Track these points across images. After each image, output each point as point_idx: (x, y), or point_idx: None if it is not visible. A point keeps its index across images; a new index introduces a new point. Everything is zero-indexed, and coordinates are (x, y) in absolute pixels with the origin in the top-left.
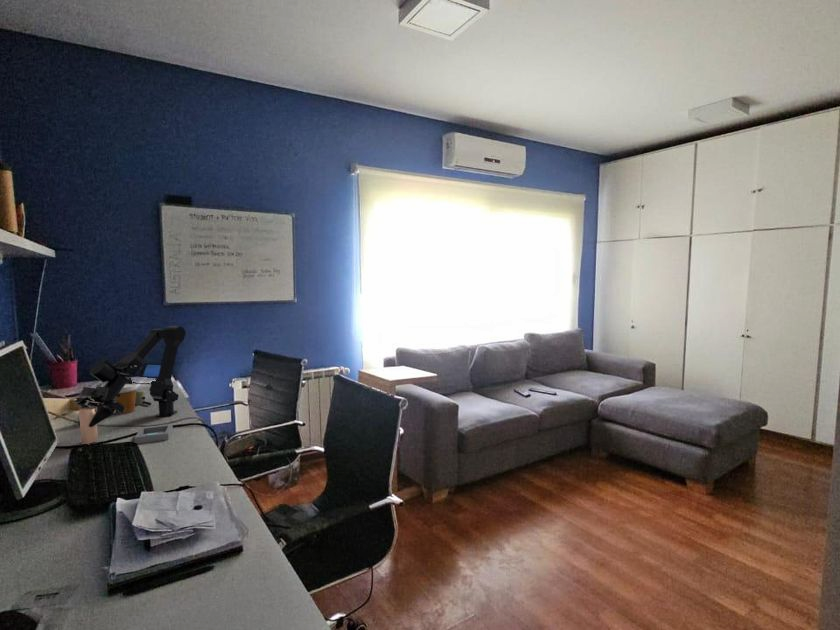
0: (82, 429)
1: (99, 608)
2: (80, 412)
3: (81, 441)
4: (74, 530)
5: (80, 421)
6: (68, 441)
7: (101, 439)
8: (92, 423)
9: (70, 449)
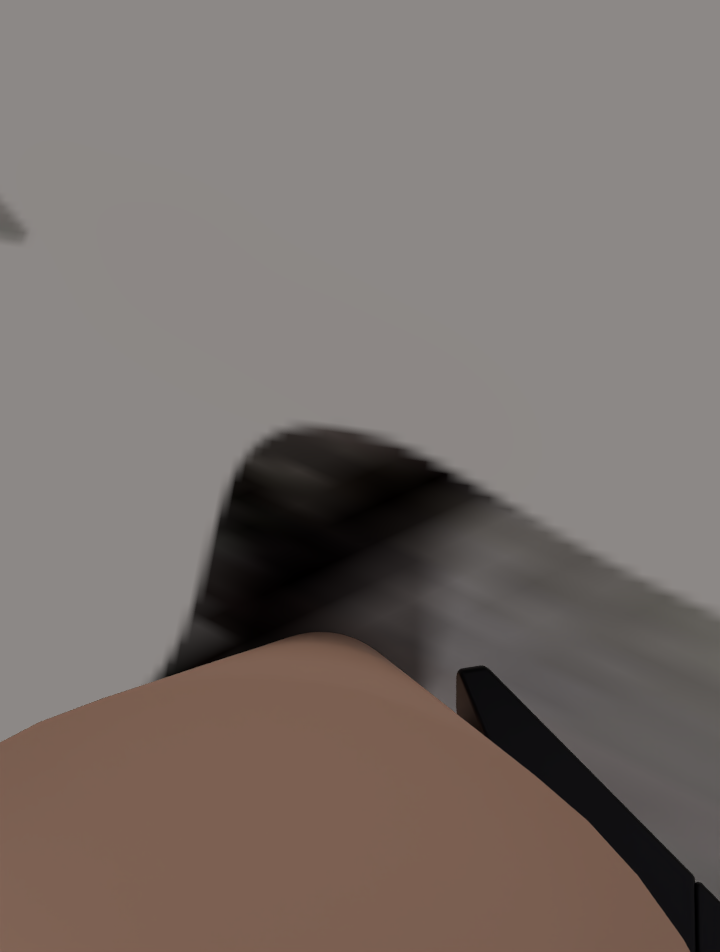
0: (270, 643)
1: None
2: (208, 673)
3: (352, 638)
4: None
5: (311, 646)
6: (630, 610)
7: None
8: None
9: (283, 470)
